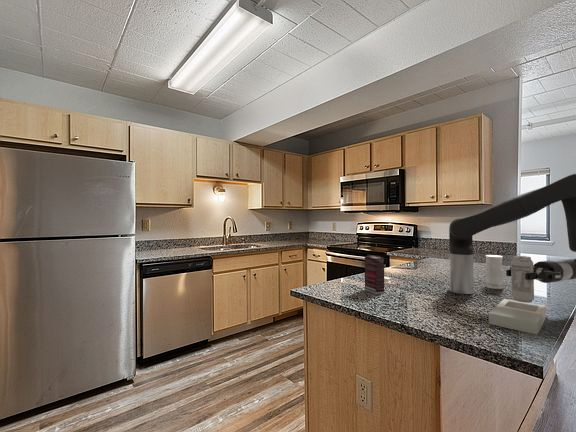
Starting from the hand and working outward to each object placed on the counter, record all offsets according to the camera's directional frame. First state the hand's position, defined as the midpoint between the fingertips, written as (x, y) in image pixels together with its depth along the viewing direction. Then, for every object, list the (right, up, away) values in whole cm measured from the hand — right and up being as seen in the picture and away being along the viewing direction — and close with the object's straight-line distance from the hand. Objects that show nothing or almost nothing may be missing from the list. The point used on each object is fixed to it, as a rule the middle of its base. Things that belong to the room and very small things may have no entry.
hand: (516, 274), depth 100 cm
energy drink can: (+3, -9, +1) cm, 10 cm away
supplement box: (-39, -15, +34) cm, 53 cm away
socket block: (-1, -14, -3) cm, 15 cm away
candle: (+20, -14, +40) cm, 47 cm away
